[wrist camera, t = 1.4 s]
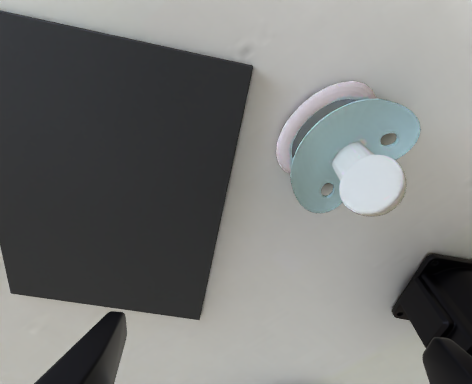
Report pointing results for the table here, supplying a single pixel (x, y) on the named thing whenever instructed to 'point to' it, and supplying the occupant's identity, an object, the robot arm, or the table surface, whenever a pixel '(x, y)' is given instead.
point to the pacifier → (349, 151)
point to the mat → (113, 165)
